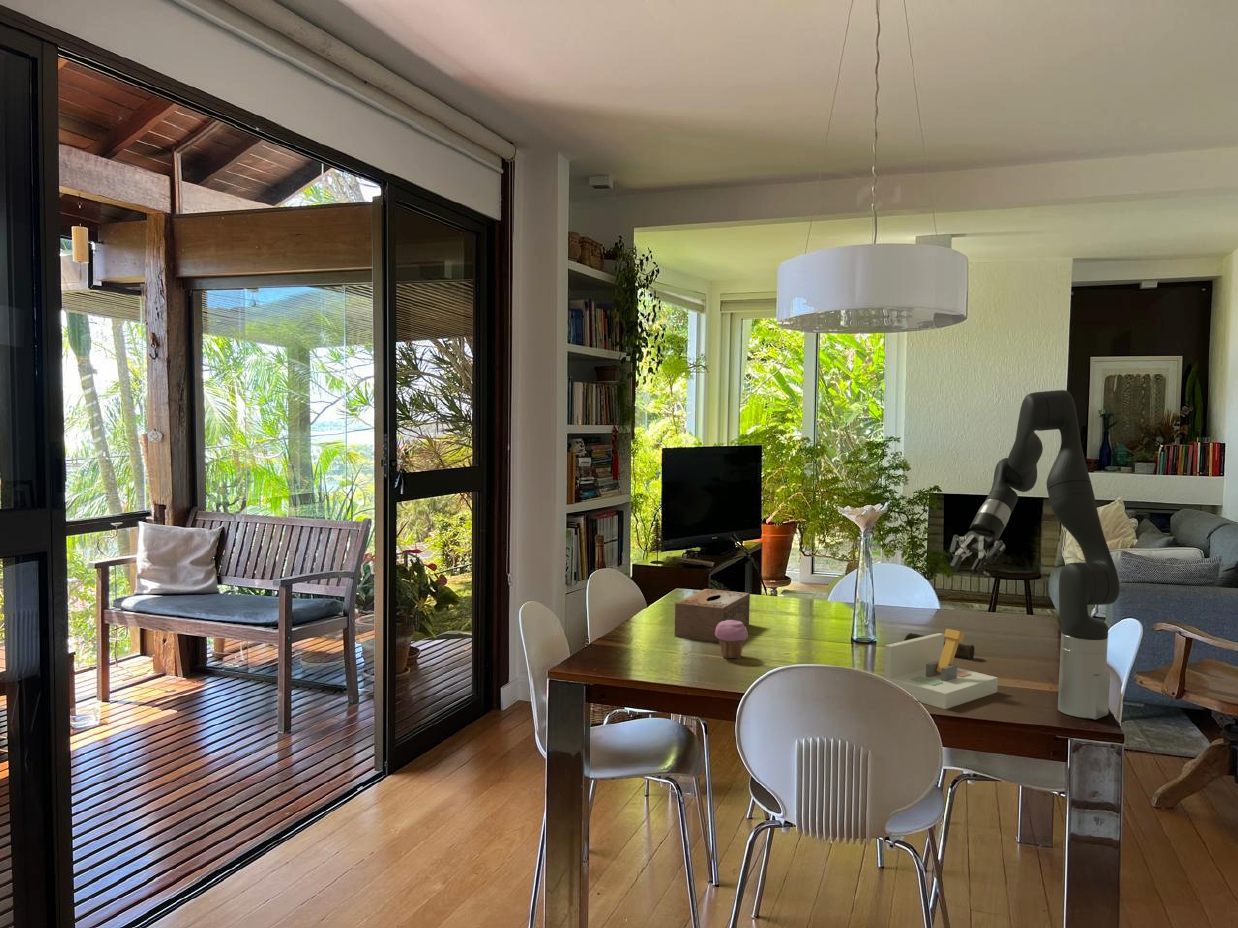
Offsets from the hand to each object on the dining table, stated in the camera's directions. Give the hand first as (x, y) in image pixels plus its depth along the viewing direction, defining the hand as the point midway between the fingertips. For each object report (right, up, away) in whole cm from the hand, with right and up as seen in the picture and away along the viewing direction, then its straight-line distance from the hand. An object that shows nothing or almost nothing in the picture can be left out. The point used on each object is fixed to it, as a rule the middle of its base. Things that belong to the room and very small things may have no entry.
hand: (963, 571), depth 233 cm
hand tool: (+1, -26, +21) cm, 33 cm away
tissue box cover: (-59, -23, +44) cm, 77 cm away
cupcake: (-57, -25, +14) cm, 63 cm away
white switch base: (-11, -27, -15) cm, 32 cm away
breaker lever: (-11, -23, -15) cm, 30 cm away
